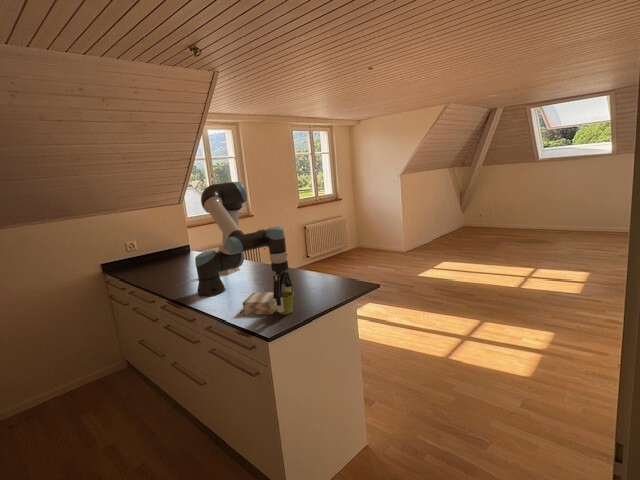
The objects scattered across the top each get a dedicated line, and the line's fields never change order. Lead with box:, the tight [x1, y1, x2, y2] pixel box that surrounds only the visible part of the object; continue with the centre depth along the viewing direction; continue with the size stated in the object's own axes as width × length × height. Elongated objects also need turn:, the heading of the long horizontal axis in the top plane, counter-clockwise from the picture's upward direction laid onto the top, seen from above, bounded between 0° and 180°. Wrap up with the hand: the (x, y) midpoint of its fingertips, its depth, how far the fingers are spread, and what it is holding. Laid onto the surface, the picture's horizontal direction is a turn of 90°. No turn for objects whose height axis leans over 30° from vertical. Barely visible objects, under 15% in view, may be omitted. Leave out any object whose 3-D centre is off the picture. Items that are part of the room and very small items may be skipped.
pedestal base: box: [239, 291, 277, 315], centre depth 176 cm, size 16×16×6 cm
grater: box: [217, 243, 240, 276], centre depth 247 cm, size 10×10×20 cm
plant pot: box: [275, 290, 295, 316], centre depth 167 cm, size 9×9×9 cm
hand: (285, 305), depth 167 cm, fingers open, 13 cm apart
